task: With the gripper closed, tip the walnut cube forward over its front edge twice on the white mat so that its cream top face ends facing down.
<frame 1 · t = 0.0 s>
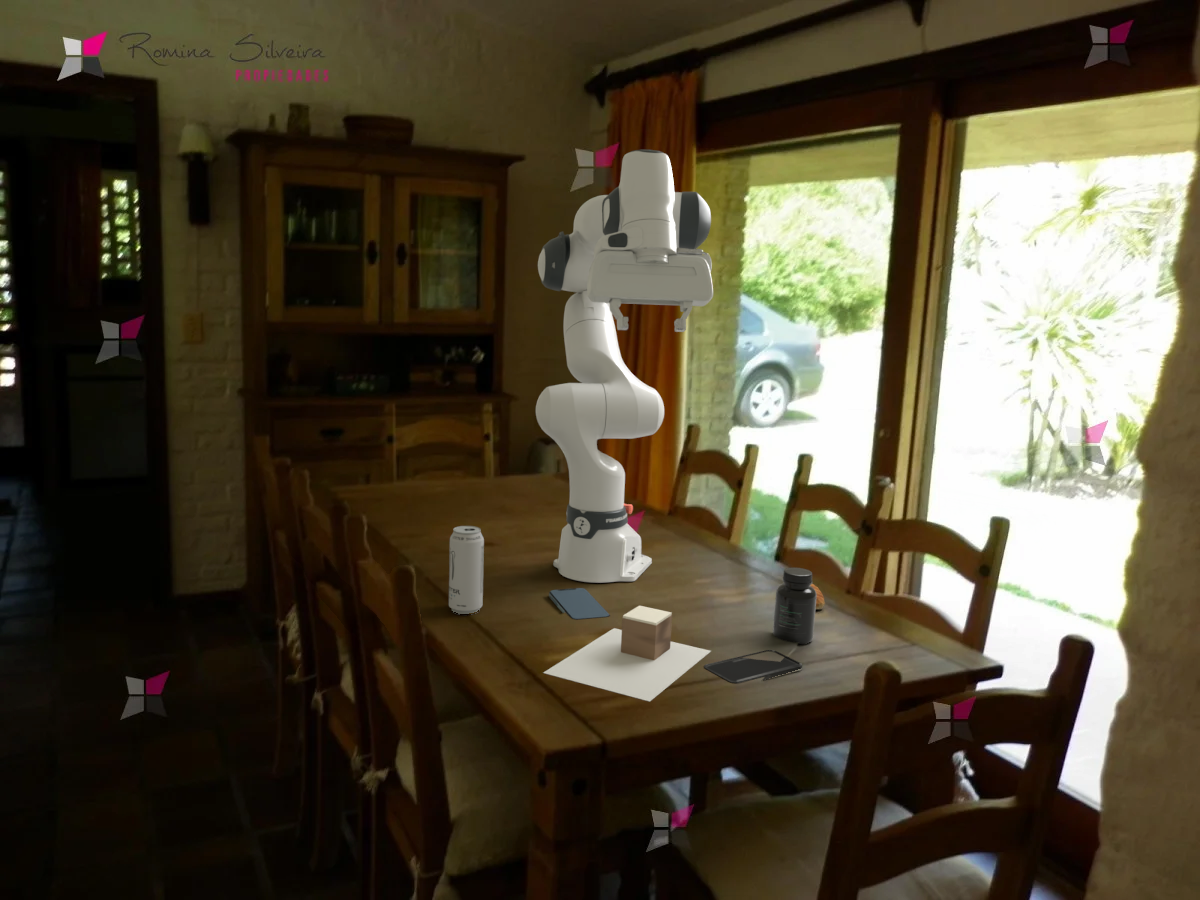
hand: (651, 330, 156), 52 cm above the table, tool tilted 20°, fingers open, 8 cm apart
walnut cube: (645, 650, 160), point 1 cm above the table, touching white mat
supplement bottle: (792, 639, 170), on the table
phone: (752, 673, 156), on the table
pastry: (804, 604, 189), on the table
energy drink can: (465, 611, 177), on the table
white mat: (630, 664, 155), on the table
smartphone: (578, 611, 181), on the table
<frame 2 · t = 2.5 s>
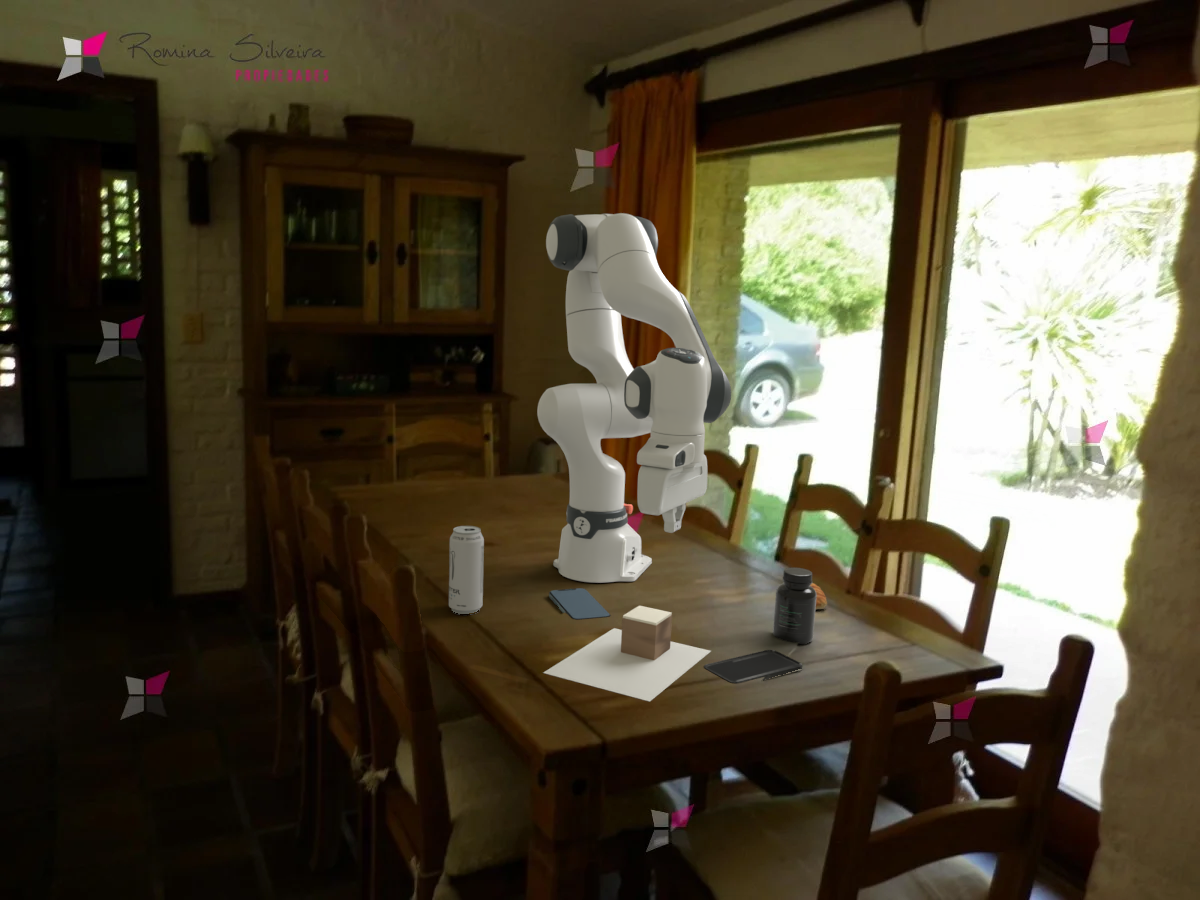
hand: (672, 530, 163), 19 cm above the table, tool pointing down, fingers closed
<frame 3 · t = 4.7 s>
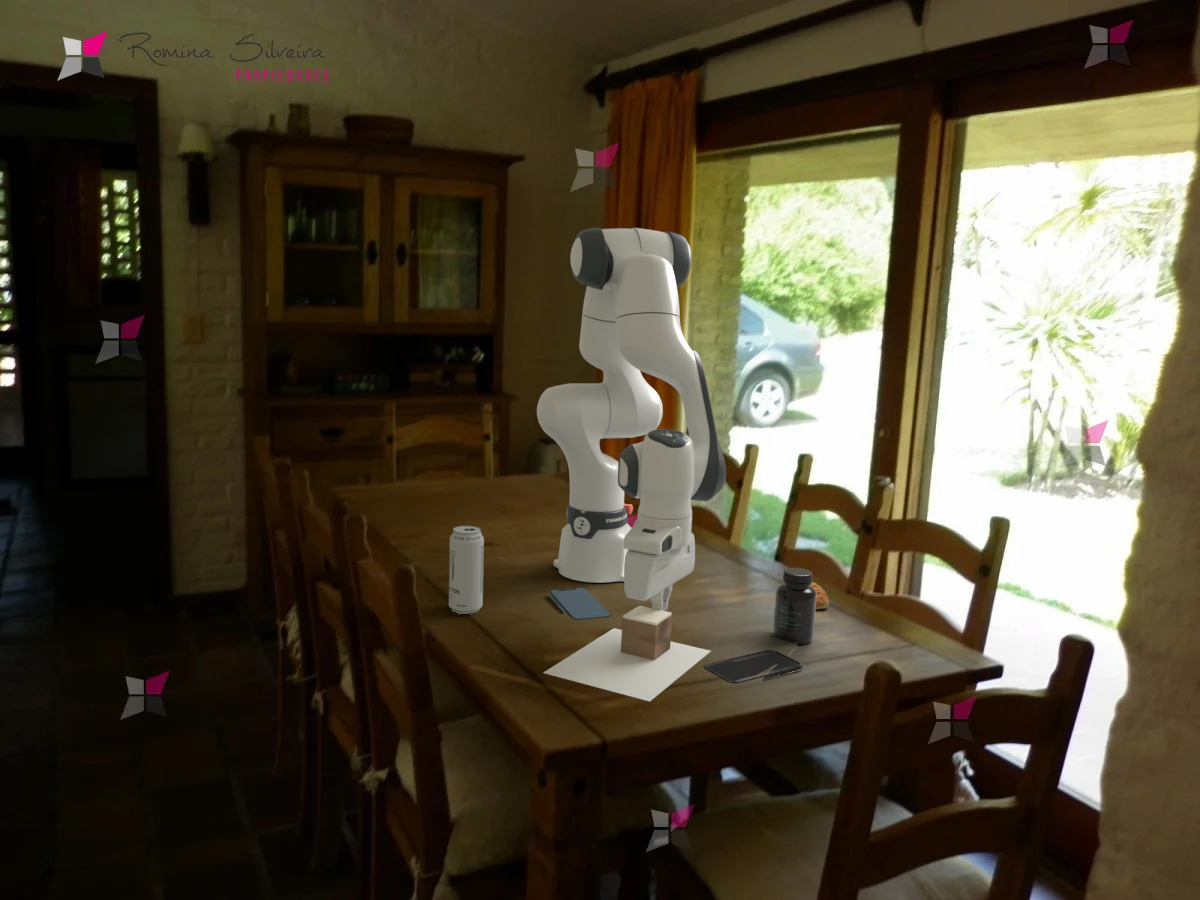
hand: (659, 611, 162), 6 cm above the table, tool pointing down, fingers closed
walnut cube: (645, 650, 160), point 1 cm above the table, touching white mat, gripper
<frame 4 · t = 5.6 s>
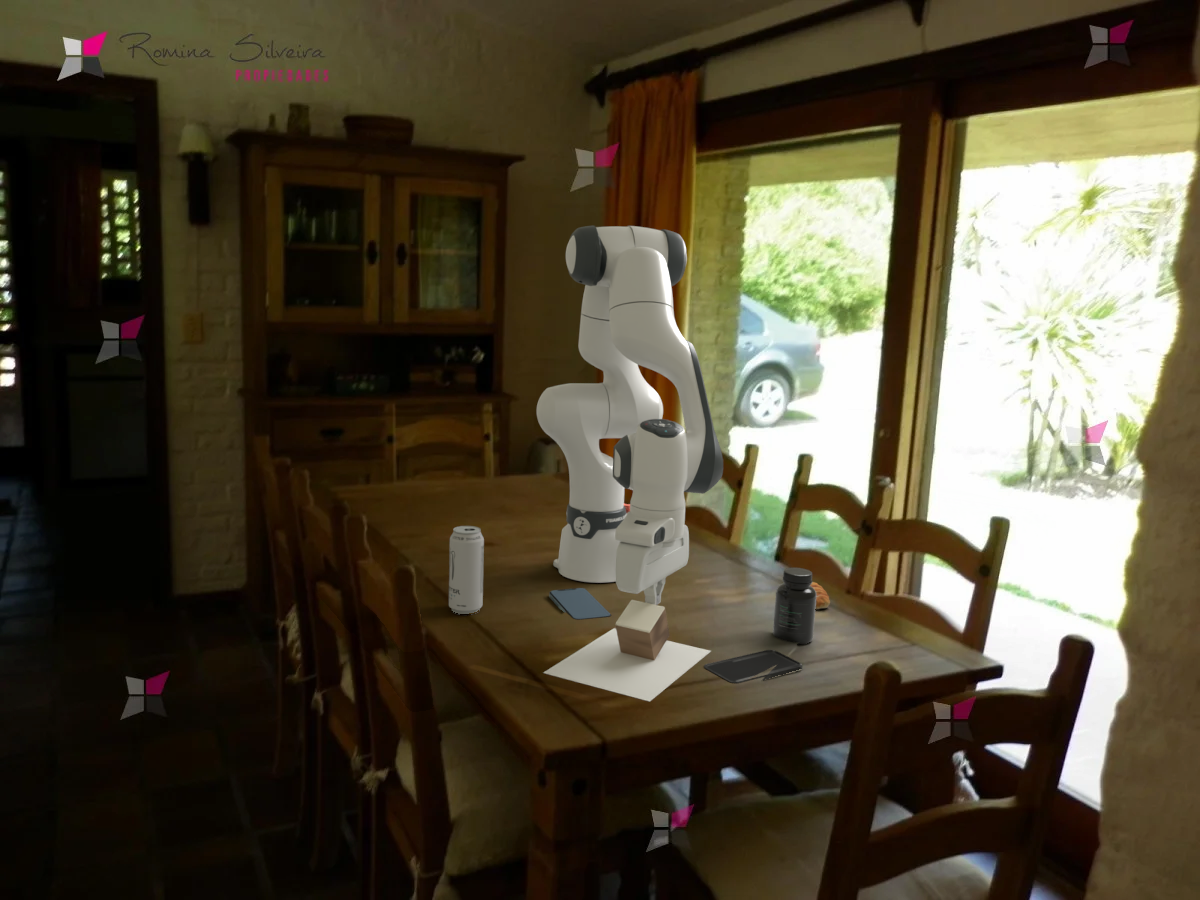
hand: (652, 605, 160), 8 cm above the table, tool pointing down, fingers closed
walnut cube: (645, 643, 159), point 2 cm above the table, tilted 24°, touching white mat, gripper
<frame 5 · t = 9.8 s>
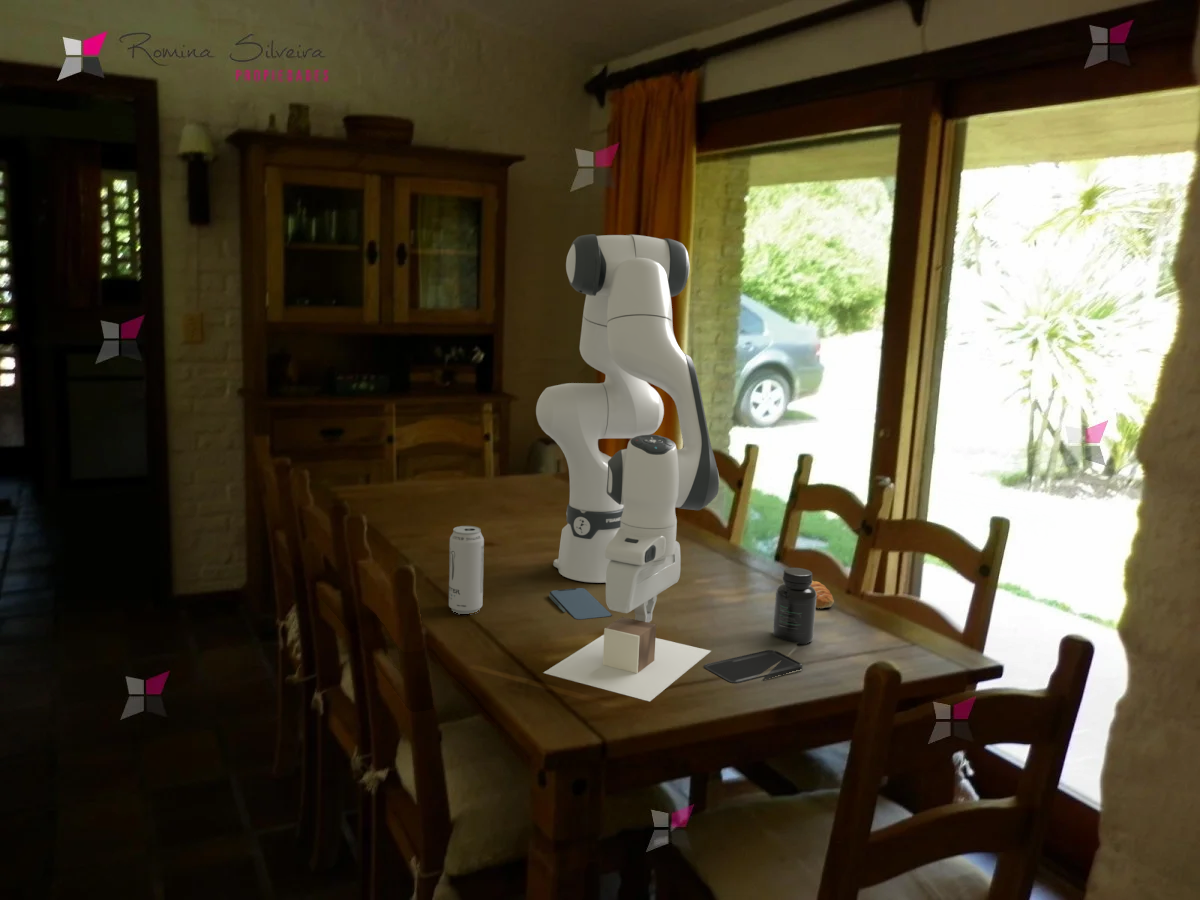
hand: (643, 623, 157), 6 cm above the table, tool pointing down, fingers closed
walnut cube: (638, 638, 157), point 4 cm above the table, tilted 90°, touching white mat, gripper
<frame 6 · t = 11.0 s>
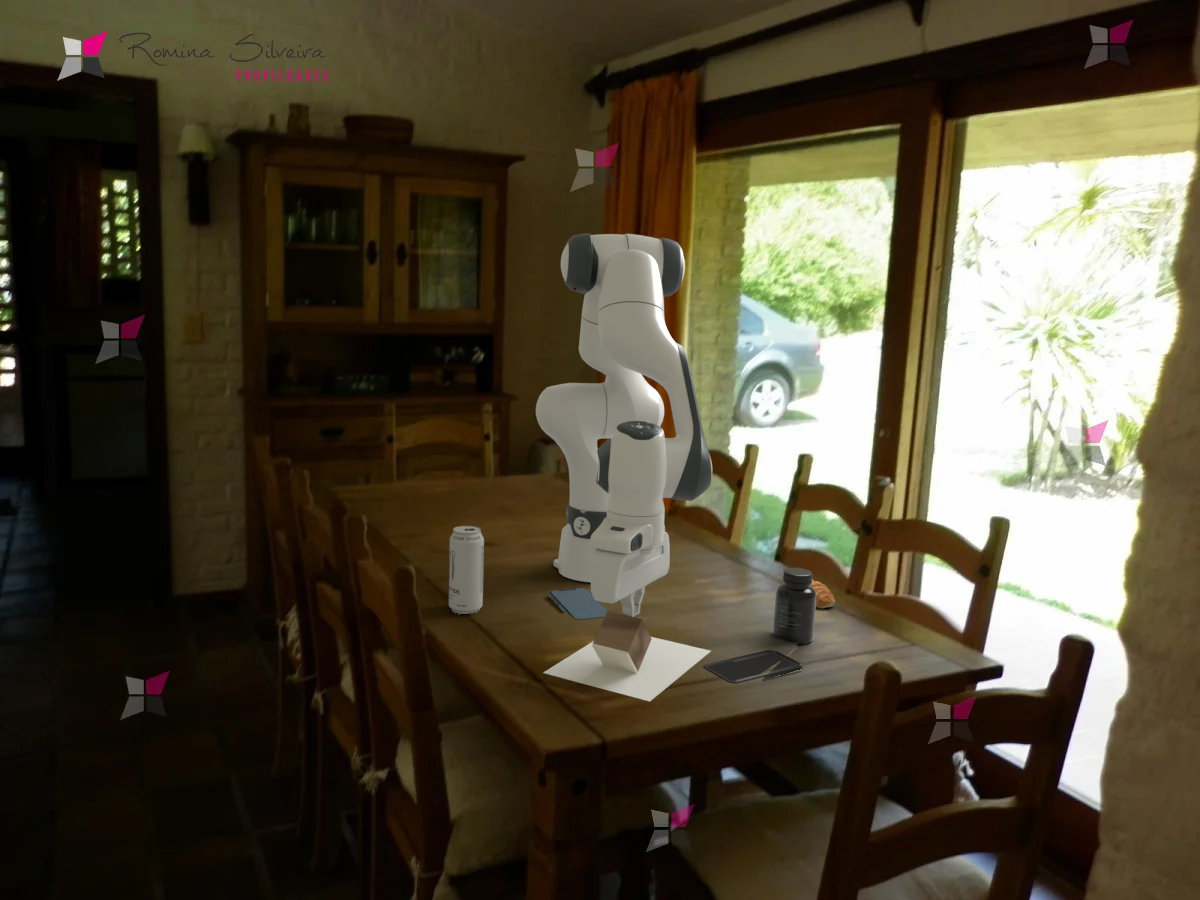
hand: (630, 615, 153), 9 cm above the table, tool pointing down, fingers closed
walnut cube: (629, 625, 153), point 7 cm above the table, tilted 131°, touching white mat, gripper
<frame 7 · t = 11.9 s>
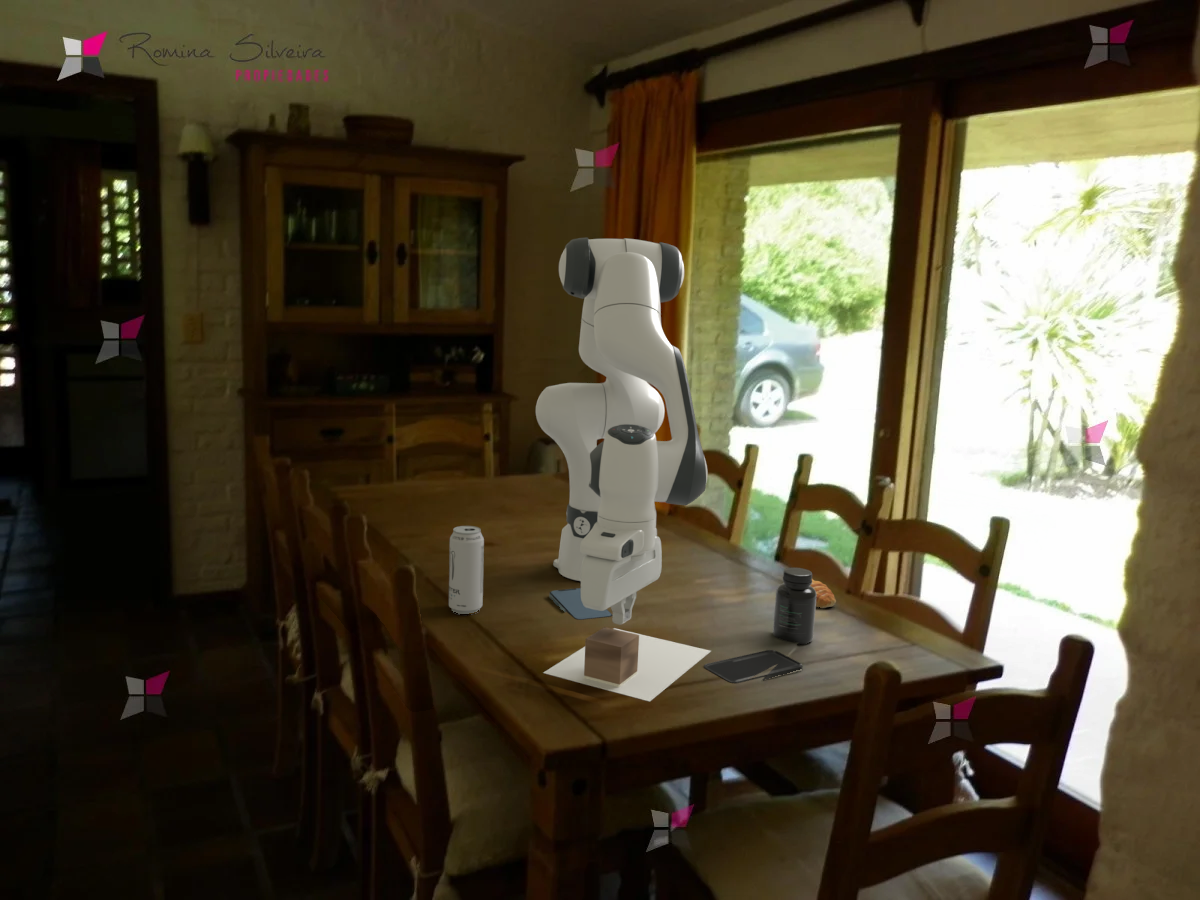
hand: (621, 621, 150), 8 cm above the table, tool pointing down, fingers closed
walnut cube: (612, 636, 148), point 7 cm above the table, tilted 180°, touching white mat
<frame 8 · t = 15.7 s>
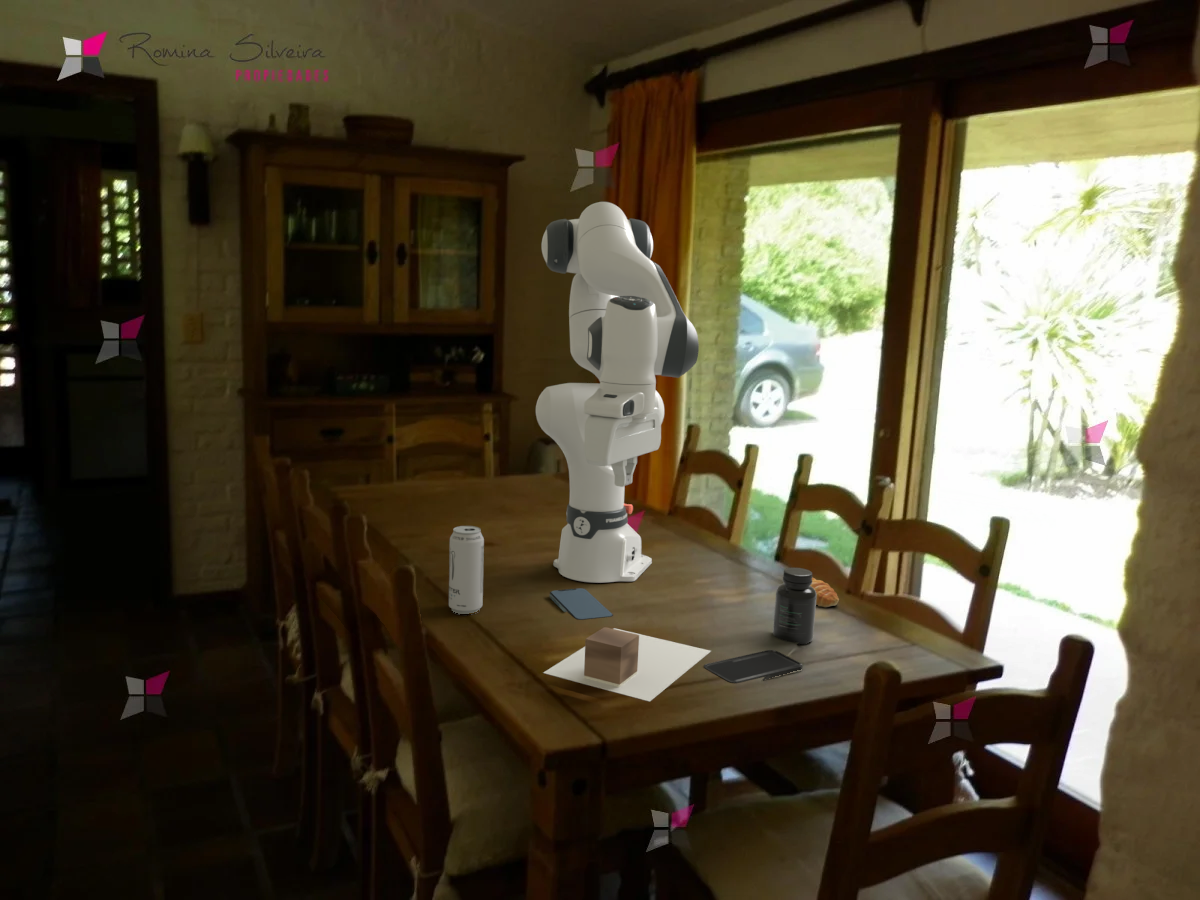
hand: (623, 485, 159), 27 cm above the table, tool pointing down, fingers closed
at the end: walnut cube tilted 180°; walnut cube inside the target area on the white mat (0.2 cm from its centre), point 6.8 cm above the white mat's base; the gripper is holding nothing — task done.
